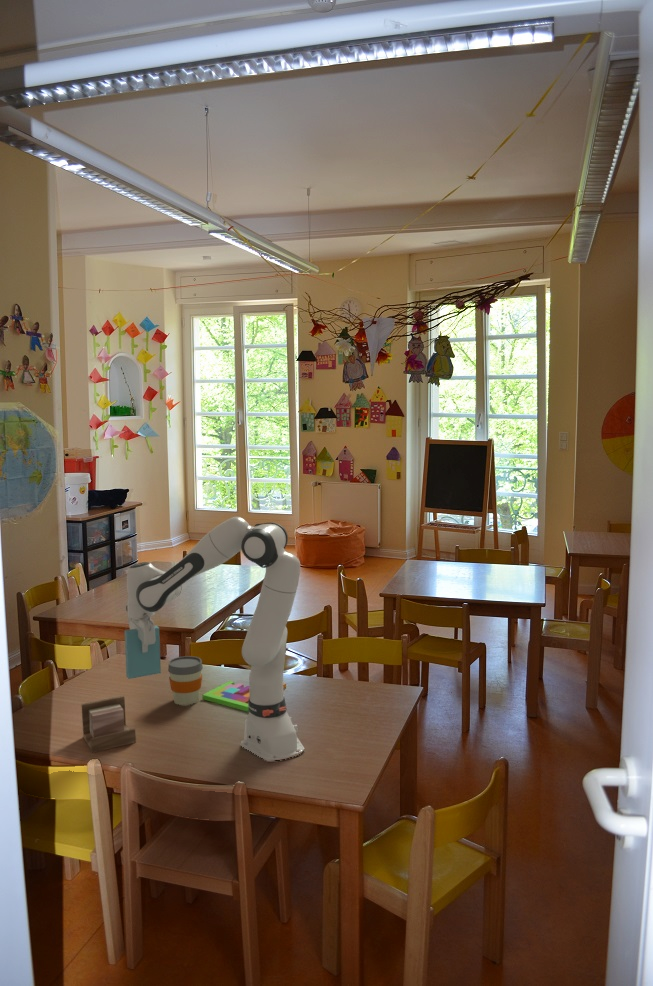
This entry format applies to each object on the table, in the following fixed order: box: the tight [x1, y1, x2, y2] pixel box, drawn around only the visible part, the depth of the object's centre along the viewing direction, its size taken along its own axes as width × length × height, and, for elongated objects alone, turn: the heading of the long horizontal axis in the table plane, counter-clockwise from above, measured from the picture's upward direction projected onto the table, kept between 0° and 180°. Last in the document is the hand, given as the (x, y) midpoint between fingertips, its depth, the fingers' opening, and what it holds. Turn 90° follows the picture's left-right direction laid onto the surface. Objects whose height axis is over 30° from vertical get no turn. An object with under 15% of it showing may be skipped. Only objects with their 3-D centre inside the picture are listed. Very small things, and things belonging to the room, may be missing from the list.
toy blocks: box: [202, 680, 287, 713], centre depth 292 cm, size 23×2×25 cm
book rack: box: [81, 695, 137, 754], centre depth 255 cm, size 13×14×12 cm
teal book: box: [124, 625, 162, 680], centre depth 261 cm, size 3×11×16 cm, turn 119°
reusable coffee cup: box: [167, 655, 203, 706], centre depth 286 cm, size 13×13×15 cm
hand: (142, 649), depth 261 cm, fingers closed on teal book, 3 cm apart
